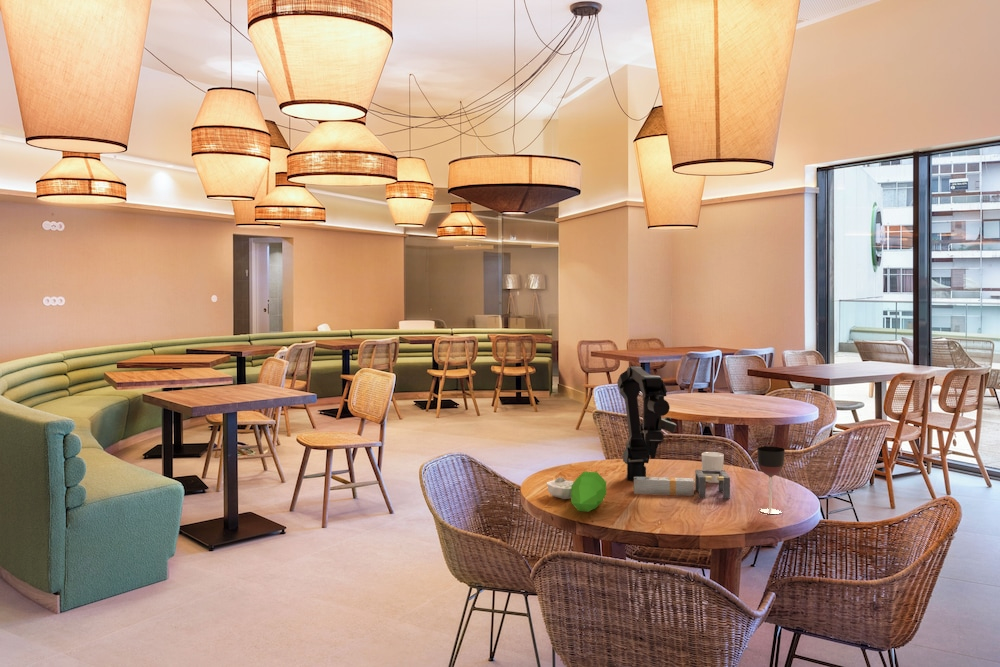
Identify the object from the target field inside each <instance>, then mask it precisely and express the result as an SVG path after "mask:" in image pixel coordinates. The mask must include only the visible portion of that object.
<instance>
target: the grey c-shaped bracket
mask: <svg viewBox="0 0 1000 667" xmlns="http://www.w3.org/2000/svg"><path fill="white" fill-rule="evenodd" d="M694 472H695V473H694V476H695V478H694V479H695V480H694V491H695V492H698V498H699V499H706V491H707V490H706V485H707V484H706V483H707V482H706V480H712V477H711V476H705V475H704V474H719V476H717V480H719V483H718V492H721V493H722V498H723V500H731V477H730V476H729V474H728V473H727V471H726V470H725V469H723V470H702V469H695V470H694Z"/></svg>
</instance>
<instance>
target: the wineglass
mask: <svg viewBox="0 0 1000 667" xmlns="http://www.w3.org/2000/svg"><path fill="white" fill-rule="evenodd" d="M756 450H757V462H758V467H759V469H760V471H761V472H762V473H763V474H765V475H766V476H768V477H769V481H768V486H769V489H768V507H766V508H767V509H762V508H760V509H761V510H760V511H761V512H764V513H768V514H769V513H770V514H779V513H782V512H783V511H782V510H780V511H779V509H777V510H776V508H773V507H772V505H773V504H772V498H773V493H772V492H773V477H774V476H775V475H777V474H779V473H780V472H781V471H782V469H783V467H784V462H785V453H786V452H785V450H786V449H785V448H783V447H779V446H771V445H769V446H759V447H757V449H756ZM768 508H769V509H768ZM781 511H782V512H781Z"/></svg>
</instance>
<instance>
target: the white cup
mask: <svg viewBox="0 0 1000 667" xmlns="http://www.w3.org/2000/svg"><path fill="white" fill-rule="evenodd" d="M724 456H725V454H724V453H722V452H717V451H715V452H714V451H704V452H702V453H701V467H702V469H701V470H724V458H725V457H724ZM704 475H705V476H711V477H712V480H706V483H711V484H719V480H717V476H719V474H704Z"/></svg>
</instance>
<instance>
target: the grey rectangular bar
mask: <svg viewBox="0 0 1000 667" xmlns="http://www.w3.org/2000/svg"><path fill="white" fill-rule="evenodd" d="M694 492H695V480H694V479H693V477H665V476H646V477H634V480H633V493H634V495H654V496H655V495H660V496H661V495H663V496H690V497H691V496H694V495H695V494H694Z"/></svg>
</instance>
